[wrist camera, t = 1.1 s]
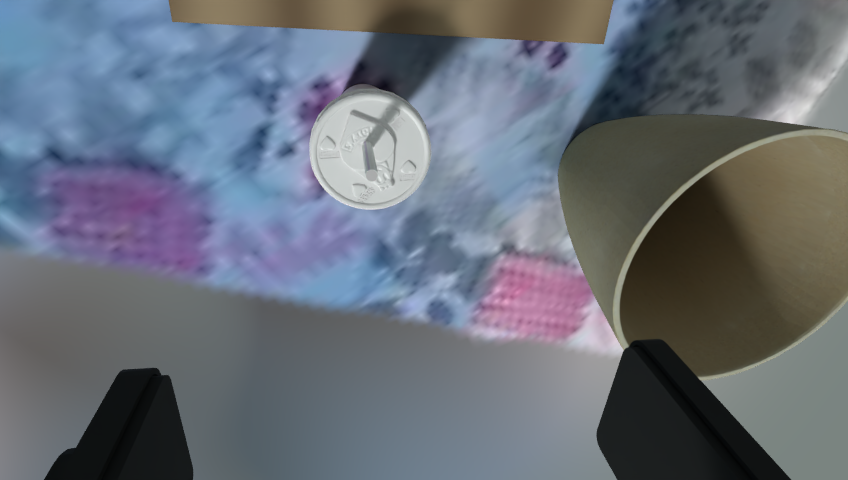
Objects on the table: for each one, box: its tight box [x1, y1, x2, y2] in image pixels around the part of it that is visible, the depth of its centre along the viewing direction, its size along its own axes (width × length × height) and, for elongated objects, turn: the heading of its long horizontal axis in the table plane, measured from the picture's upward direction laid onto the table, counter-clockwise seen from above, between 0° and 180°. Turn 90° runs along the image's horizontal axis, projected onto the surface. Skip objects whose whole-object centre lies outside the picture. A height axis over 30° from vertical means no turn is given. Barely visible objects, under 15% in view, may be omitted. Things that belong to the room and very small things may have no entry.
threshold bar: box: [169, 0, 613, 44], centre depth 28 cm, size 24×3×5 cm, turn 86°
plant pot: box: [558, 114, 848, 381], centre depth 31 cm, size 15×15×16 cm
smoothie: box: [309, 84, 431, 210], centre depth 27 cm, size 6×6×14 cm
